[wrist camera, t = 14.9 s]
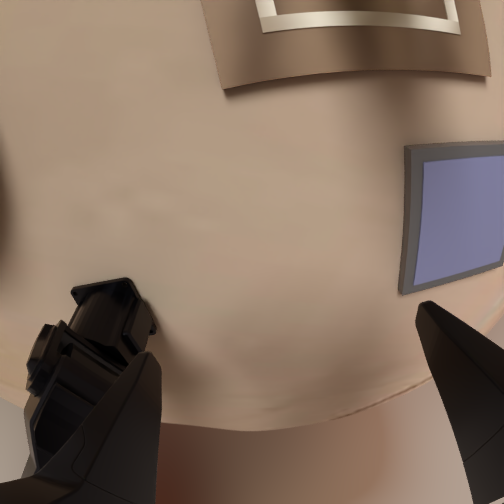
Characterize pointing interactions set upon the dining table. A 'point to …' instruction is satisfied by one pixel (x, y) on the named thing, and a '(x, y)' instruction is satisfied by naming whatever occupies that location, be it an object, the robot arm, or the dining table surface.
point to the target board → (343, 37)
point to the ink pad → (451, 213)
